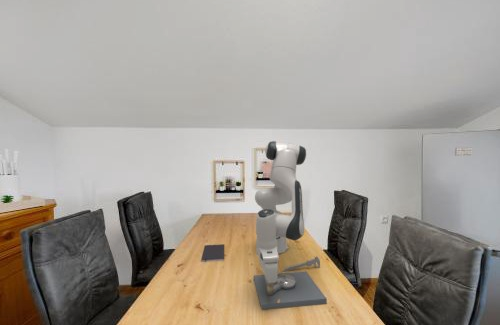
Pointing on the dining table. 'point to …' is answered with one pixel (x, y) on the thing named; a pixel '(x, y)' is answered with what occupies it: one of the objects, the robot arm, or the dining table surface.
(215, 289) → the dining table surface
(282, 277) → the wooden knob lever
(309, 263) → the caliper
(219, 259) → the notebook
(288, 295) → the base plate
